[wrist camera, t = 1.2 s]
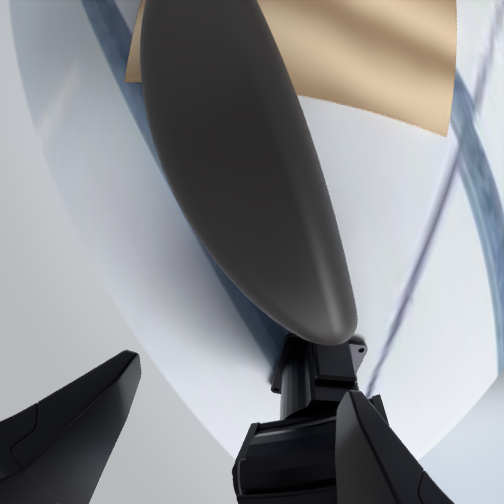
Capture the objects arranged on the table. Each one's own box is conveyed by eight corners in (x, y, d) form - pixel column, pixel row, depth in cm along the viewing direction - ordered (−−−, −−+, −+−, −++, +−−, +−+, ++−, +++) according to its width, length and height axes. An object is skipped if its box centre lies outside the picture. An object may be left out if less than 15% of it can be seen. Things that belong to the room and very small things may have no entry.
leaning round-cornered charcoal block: (175, 27, 13) (81, -23, 5) (248, -2, 12) (211, -90, 4) (268, 264, 20) (253, 378, 11) (336, 246, 19) (368, 355, 10)
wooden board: (442, 136, 15) (446, 136, 15) (128, 82, 16) (124, 81, 15) (451, -13, 10) (454, -15, 10) (164, -60, 11) (161, -64, 10)
